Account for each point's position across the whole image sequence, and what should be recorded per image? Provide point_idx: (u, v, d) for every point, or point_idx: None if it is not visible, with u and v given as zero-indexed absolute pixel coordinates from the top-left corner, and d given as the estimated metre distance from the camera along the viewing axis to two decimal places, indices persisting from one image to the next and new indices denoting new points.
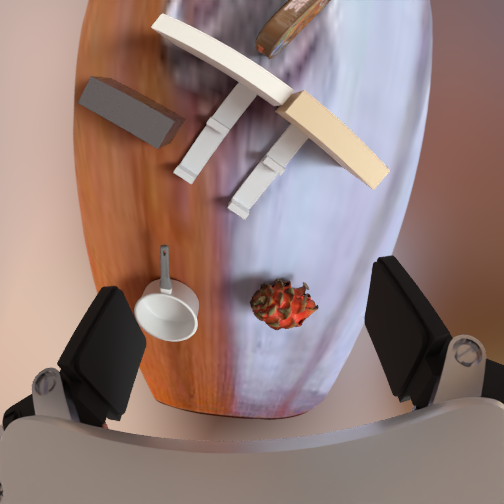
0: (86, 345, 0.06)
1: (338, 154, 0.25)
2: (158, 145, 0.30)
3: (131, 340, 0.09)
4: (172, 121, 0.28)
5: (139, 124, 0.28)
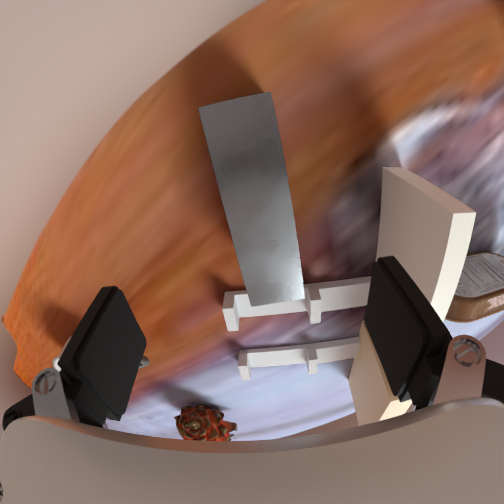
0: (86, 345, 0.06)
1: None
2: (256, 304, 0.20)
3: (131, 340, 0.09)
4: (302, 296, 0.19)
5: (262, 261, 0.18)
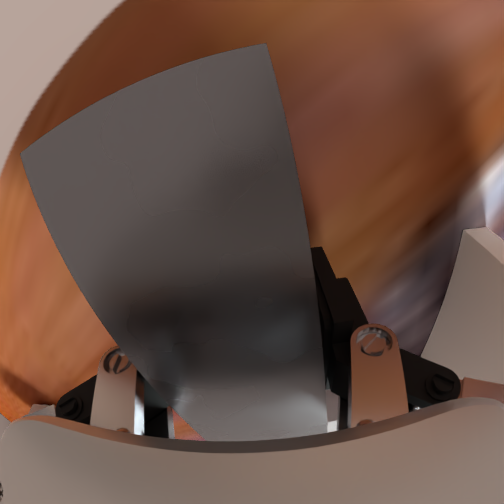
0: None
1: None
2: None
3: None
4: None
5: None
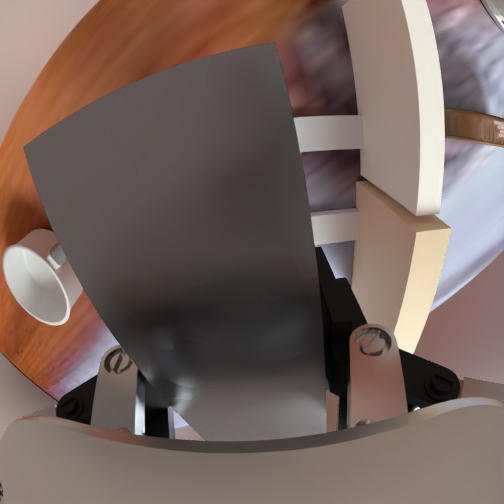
0: None
1: (400, 316, 0.17)
2: None
3: None
4: None
5: None
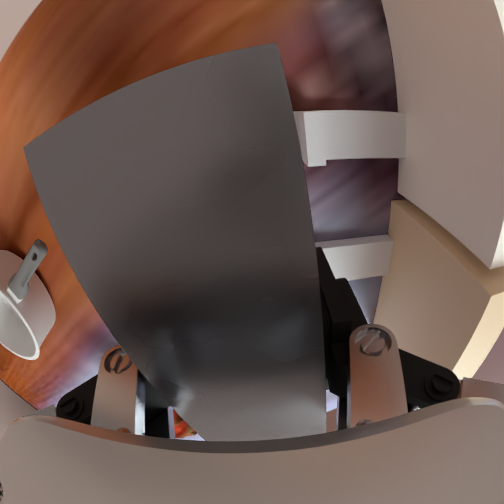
0: None
1: None
2: None
3: None
4: None
5: None
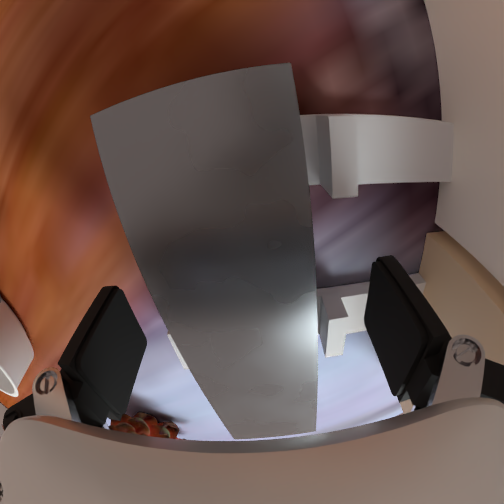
0: (87, 344, 0.06)
1: None
2: (242, 437, 0.11)
3: (132, 340, 0.09)
4: (312, 429, 0.11)
5: (252, 405, 0.09)
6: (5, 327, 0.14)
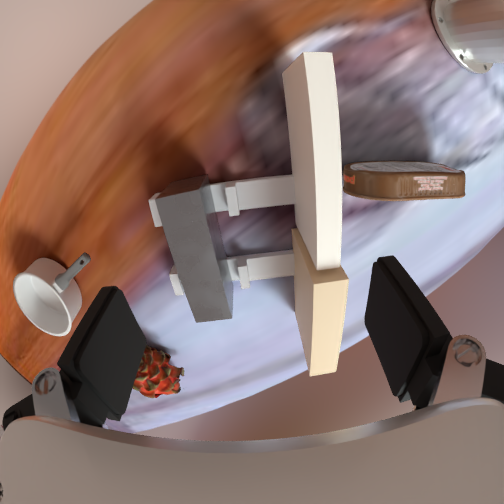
0: (86, 345, 0.06)
1: (313, 342, 0.24)
2: (199, 321, 0.28)
3: (131, 340, 0.09)
4: (230, 316, 0.28)
5: (200, 293, 0.27)
6: (69, 285, 0.31)
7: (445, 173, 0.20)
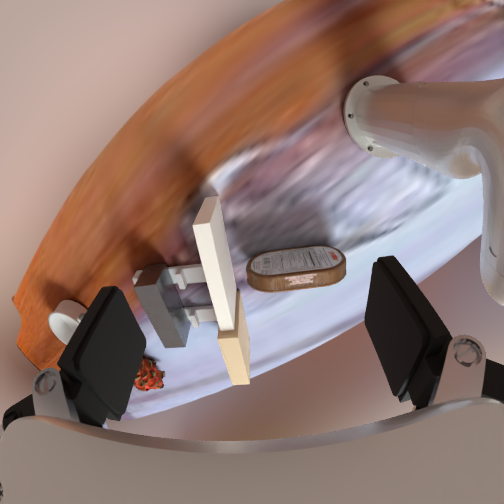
0: (86, 345, 0.06)
1: (227, 366, 0.41)
2: (167, 347, 0.45)
3: (131, 340, 0.09)
4: (184, 346, 0.45)
5: (165, 333, 0.43)
6: None
7: (315, 271, 0.36)
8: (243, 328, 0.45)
